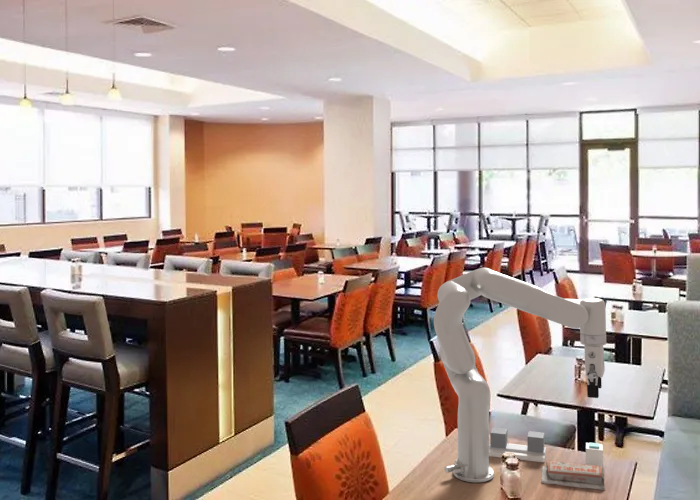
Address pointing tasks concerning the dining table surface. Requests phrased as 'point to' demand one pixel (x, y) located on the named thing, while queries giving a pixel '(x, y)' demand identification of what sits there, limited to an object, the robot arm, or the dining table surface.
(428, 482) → the dining table surface
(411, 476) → the dining table surface
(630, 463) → the dining table surface
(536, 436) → the rail board
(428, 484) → the dining table surface
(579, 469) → the packaged product
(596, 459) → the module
